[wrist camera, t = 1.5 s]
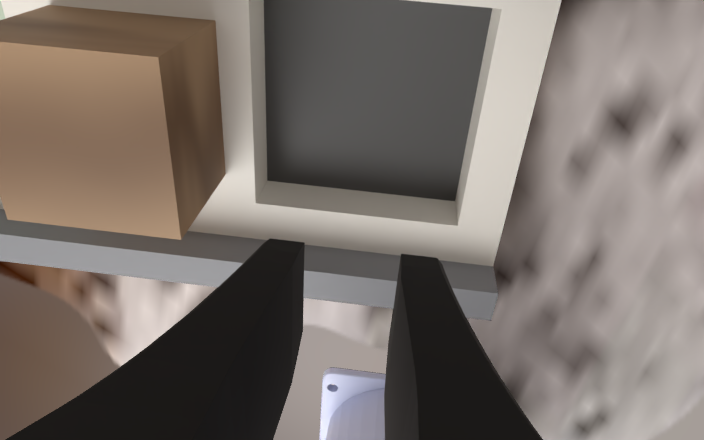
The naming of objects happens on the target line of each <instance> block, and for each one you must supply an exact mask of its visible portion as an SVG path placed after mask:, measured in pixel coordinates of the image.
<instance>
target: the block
mask: <svg viewBox="0 0 704 440" xmlns="http://www.w3.org/2000/svg"><path fill="white" fill-rule="evenodd" d="M225 175H226V172H225V157H224V142H223V127H222V112H221V97H220V82H219V67H218V52H217V37H216V22H215V20H205V19H195V18H184V17H173V16H163V15H152V14H141V13H131V12H120V11H109V10H99V9H88V8H77V7H66V6H56V5H47V6H44V7H41V8H38V9H35V10H31V11H28V12H25V13H22V14H19V15H15V16H12V17H9V18H6V19H3V20H0V198H1V201H2V204H3V207H4V210H5V213H6V216H7V219H8V220H16V221H24V222H33V223H41V224H50V225H58V226H67V227H75V228H84V229H92V230H101V231H109V232H118V233H126V234H135V235H143V236H152V237H160V238H169V239H177V240H181V239H182V238H183V237H184V235H185V234H186V232H187V231H188V229H189V228H190V226H191V225H192V223H193V222H194V220H195V219H196V217H197V216H198V214H199V213H200V212H201V210H202V209H203V207H204V206H205V204H206V203H207V201H208V200H209V198H210V197H211V195H212V194H213V192H214V191H215V189H216V188H217V187H218V185H219V184H220V182H221V181H222V179H223V178H224V176H225Z"/></svg>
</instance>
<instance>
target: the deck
mask: <svg viewBox="0 0 704 440" xmlns="http://www.w3.org/2000/svg"><path fill="white" fill-rule="evenodd" d="M561 1H562V0H0V20H3V19H6V18H9V17H12V16H15V15H19V14H22V13H25V12H28V11H31V10H35V9H38V8H41V7H44V6H47V5H56V6H66V7H77V8H88V9H99V10H109V11H120V12H131V13H141V14H152V15H163V16H173V17H184V18H195V19H205V20H215V22H216V37H217V52H218V67H219V82H220V97H221V112H222V127H223V142H224V157H225V172H226V175H225V176H224V178H223V179H222V181H221V182H220V184H219V185H218V187H217V188H216V189H215V191H214V192H213V194H212V195H211V197H210V198H209V200H208V201H207V203H206V204H205V206H204V207H203V209H202V210H201V212H200V213H199V214H198V216H197V217H196V219H195V220H194V222H193V223H192V225H191V226H190V228H189V229H188V231H187V232H186V234H185V235H184V237H183V238H182V239H181V240H177V239H169V238H160V237H152V236H143V235H135V234H126V233H118V232H109V231H101V230H92V229H84V228H75V227H67V226H58V225H50V224H41V223H33V222H24V221H16V220H8V219H7V216H6V213H5V210H4V207H3V204H2V201H1V198H0V261H6V262H15V263H23V264H31V265H39V266H47V267H55V268H64V269H72V270H80V271H88V272H96V273H105V274H113V275H121V276H129V277H137V278H145V279H154V280H162V281H170V282H178V283H186V284H195V285H203V286H211V287H219V286H220V285H221V284H222V283H223V282H224V281H225V280H226V279H227V278H228V277H230V276H231V275H232V274H233V273H234V272H235V271H236V270H237V269H238V268H239V267H240V266H241V265H242V264H243V263H244V262H245V261H246V260H247V259H248V258H249V257H250V256H251V255H252V254H253V253H254V252H255V251H256V250H257V249H258V248H259V247H260V246H261V245H262V244H263V243H264V242H266V241H267V240H269V239H270V238H271V239H279V240H288V241H297V242H305V252H304V295H303V298H309V299H317V300H325V301H334V302H342V303H350V304H358V305H366V306H375V307H383V308H391V309H393V307H394V300H395V293H396V286H397V279H398V272H399V264H400V257H401V254H408V255H417V256H426V257H434V258H438V260H439V261H440V262H441V263H442V265H443V268H444V270H445V273H446V275H447V278H448V280H449V283H450V285H451V287H452V289H453V292H454V294H455V296H456V298H457V300H458V302H459V304H460V306H461V308H462V310H463V313H464V314H465V316H466V318H473V319H481V320H489V321H491V319H492V315H493V312H494V308H495V304H496V301H497V297H498V289H497V284H496V278H495V273H494V268H493V265H494V261H495V257H496V254H497V250H498V246H499V242H500V238H501V234H502V230H503V226H504V222H505V219H506V215H507V211H508V207H509V203H510V199H511V195H512V191H513V187H514V184H515V180H516V176H517V172H518V168H519V164H520V160H521V156H522V152H523V148H524V145H525V141H526V137H527V133H528V129H529V125H530V121H531V117H532V113H533V110H534V106H535V102H536V98H537V94H538V90H539V86H540V82H541V78H542V75H543V71H544V67H545V63H546V59H547V55H548V51H549V47H550V43H551V39H552V36H553V32H554V28H555V24H556V20H557V16H558V12H559V8H560V4H561Z"/></svg>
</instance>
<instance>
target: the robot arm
mask: <svg viewBox="0 0 704 440" xmlns="http://www.w3.org/2000/svg"><path fill="white" fill-rule="evenodd" d="M304 252H305V242H297V241H288V240H279V239H271V238H270V239H269V240H267V241H266V242H264V243H263V244H262V245H261V246H260V247H259V248H258V249H257V250H256V251H255V252H254V253H253V254H252V255H251V256H250V257H249V258H248V259H247V260H246V261H245V262H244V263H243V264H242V265H241V266H240V267H239V268H238V269H237V270H236V271H235V272H234V273H233V274H232V275H231V276H230V277H228V278H227V279H226V280H225V281H224V282H223V283H222V284H221V285H220V286H219V287H218V288H217V289H215V290H214V291H213V292H212V293H211V294H210V295H209V296H208V297H207V298H205V299H204V300H203V301H202V302H201V303H200V304H199V305H198V306H197V307H195V308H194V309H193V310H192V311H191V312H190V313H189V314H187V315H186V316H185V317H184V318H183V319H181V320H180V321H179V322H178V323H176V324H175V325H174V326H173V327H171V328H170V329H169V330H168V331H166V332H165V333H164V334H163V335H162V336H160V337H159V338H158V339H157V340H155V341H154V342H153V343H152V344H150V345H149V346H148V347H147V348H145V349H144V350H143V351H141V352H140V353H139V354H137V355H136V356H135V357H133V358H132V359H131V360H129V361H128V362H127V363H125V364H124V365H122V366H121V367H120V368H118V369H117V370H115V371H114V372H113V373H111V374H110V375H108V376H107V377H106V378H104V379H103V380H101V381H100V382H98V383H97V384H95V385H94V386H92V387H91V388H89V389H88V390H86V391H85V392H83V393H82V394H80V395H79V396H77V397H76V398H74V399H72V400H71V401H69V402H68V403H66V404H64V405H63V406H61V407H60V408H58V409H56V410H55V411H53V412H51V413H49V414H48V415H46V416H44V417H43V418H41V419H40V420H38V421H36V422H34V423H33V424H31V425H29V426H28V427H26V428H24V429H23V430H21V431H19V432H18V433H16V434H14V435H13V436H11V437H9V438H7V439H6V440H273V438H274V435H275V432H276V429H277V425H278V423H279V420H280V417H281V414H282V411H283V408H284V405H285V401H286V399H287V396H288V393H289V389H290V386H291V383H292V379H293V374H294V369H295V365H296V360H297V356H298V351H299V346H300V341H301V337H302V332H303V295H304ZM331 384H334V385H331ZM319 440H543V439H542V438H541V436H540V435H539V434H538V432H537V431H536V430H535V428H534V427H533V425H532V424H531V423H530V421H529V420H528V418H527V417H526V415H525V414H524V413H523V411H522V410H521V408H520V407H519V405H518V404H517V402H516V401H515V399H514V398H513V396H512V395H511V393H510V392H509V390H508V388H507V387H506V385H505V384H504V382H503V381H502V379H501V378H500V376H499V375H498V373H497V371H496V370H495V368H494V366H493V365H492V363H491V361H490V360H489V358H488V356H487V355H486V353H485V351H484V349H483V347H482V346H481V344H480V342H479V340H478V339H477V337H476V335H475V333H474V331H473V330H472V328H471V326H470V324H469V322H468V320H467V318H466V316H465V314H464V313H463V310H462V308H461V306H460V304H459V302H458V300H457V298H456V296H455V294H454V292H453V289H452V287H451V285H450V283H449V280H448V278H447V275H446V273H445V270H444V268H443V265H442V263H441V262H440V261H439V260H438V258H434V257H426V256H417V255H408V254H401V257H400V264H399V272H398V279H397V286H396V293H395V300H394V307H393V314H392V321H391V329H390V336H389V344H388V355H387V367H386V374H382V373H373V372H366V371H358V370H351V369H343V368H334V367H331V368H328V369H326V370H325V372H324V374H323V381H322V400H321V419H320V438H319Z"/></svg>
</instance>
